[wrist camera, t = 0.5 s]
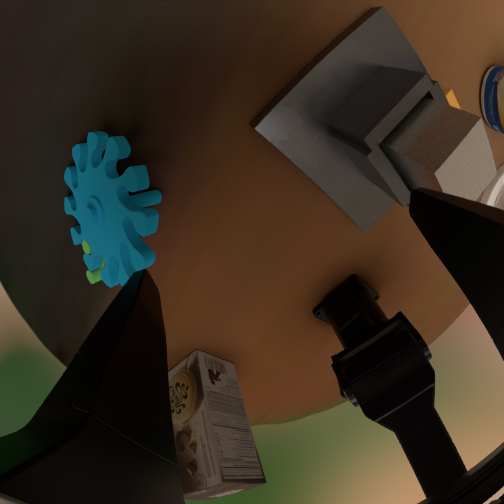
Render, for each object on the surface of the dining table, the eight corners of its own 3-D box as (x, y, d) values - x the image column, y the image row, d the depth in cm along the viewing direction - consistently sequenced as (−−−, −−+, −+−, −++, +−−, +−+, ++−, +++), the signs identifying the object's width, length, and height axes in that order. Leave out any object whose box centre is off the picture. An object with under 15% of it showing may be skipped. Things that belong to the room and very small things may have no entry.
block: (413, 128, 20) (498, 173, 13) (377, 167, 22) (456, 225, 14) (385, 84, 18) (481, 115, 10) (344, 125, 19) (432, 173, 12)
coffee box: (192, 393, 38) (212, 500, 25) (153, 381, 34) (166, 499, 22) (236, 363, 35) (269, 483, 23) (196, 347, 32) (221, 486, 19)
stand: (446, 127, 23) (496, 152, 17) (357, 224, 27) (395, 267, 22) (371, 8, 15) (431, 3, 10) (249, 124, 19) (278, 149, 14)
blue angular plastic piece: (71, 107, 14) (161, 195, 12) (140, 106, 19) (237, 178, 17) (51, 236, 20) (118, 330, 18) (106, 218, 25) (175, 296, 23)
